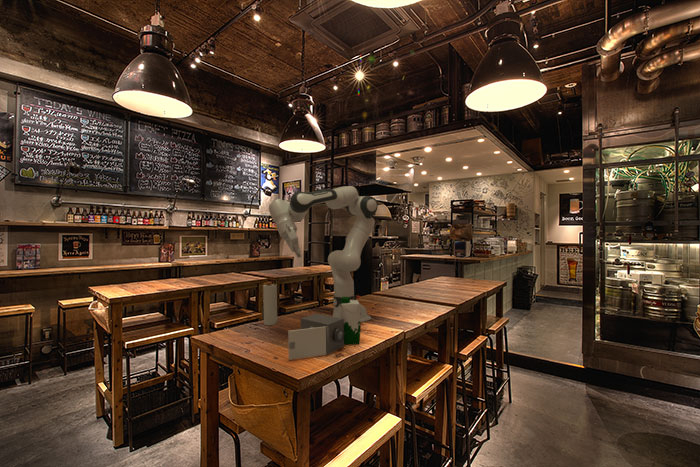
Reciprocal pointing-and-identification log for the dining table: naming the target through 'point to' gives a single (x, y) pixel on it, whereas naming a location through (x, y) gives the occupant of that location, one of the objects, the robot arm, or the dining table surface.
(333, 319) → the box
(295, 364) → the dining table surface
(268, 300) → the paper towel roll
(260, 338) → the dining table surface
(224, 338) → the dining table surface
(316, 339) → the side door
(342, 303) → the milk carton
